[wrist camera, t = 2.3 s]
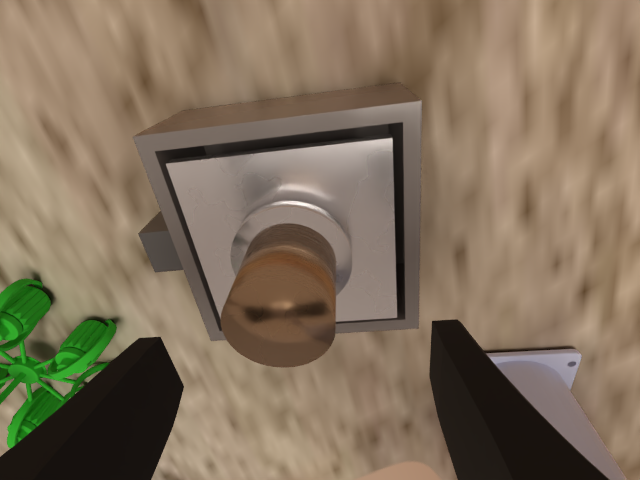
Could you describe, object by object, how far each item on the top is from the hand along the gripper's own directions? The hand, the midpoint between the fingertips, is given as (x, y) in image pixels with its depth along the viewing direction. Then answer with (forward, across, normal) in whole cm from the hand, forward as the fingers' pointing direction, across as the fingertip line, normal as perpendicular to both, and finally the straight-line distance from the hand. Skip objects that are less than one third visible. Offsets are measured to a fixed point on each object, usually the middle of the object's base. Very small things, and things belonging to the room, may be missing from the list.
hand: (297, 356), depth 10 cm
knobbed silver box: (+11, +1, 0) cm, 11 cm away
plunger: (+6, +1, 0) cm, 6 cm away
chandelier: (+11, +21, +10) cm, 25 cm away
